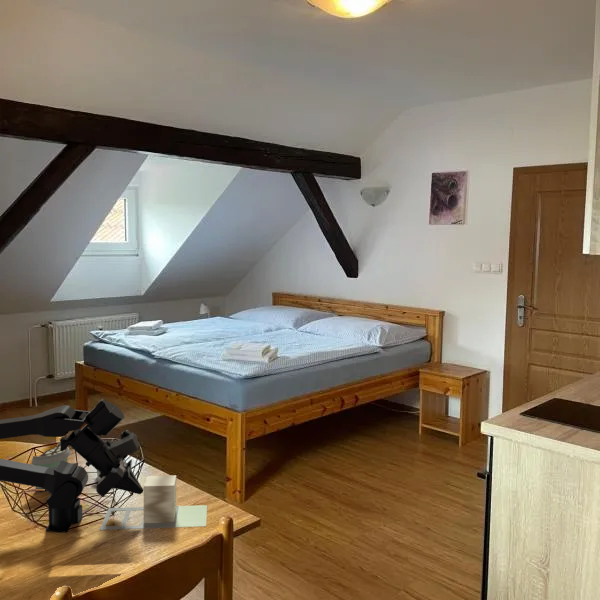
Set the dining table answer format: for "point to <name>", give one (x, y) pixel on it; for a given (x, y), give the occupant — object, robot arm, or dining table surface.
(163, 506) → the block
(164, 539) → the dining table surface
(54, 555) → the dining table surface
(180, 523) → the plate
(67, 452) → the food container
